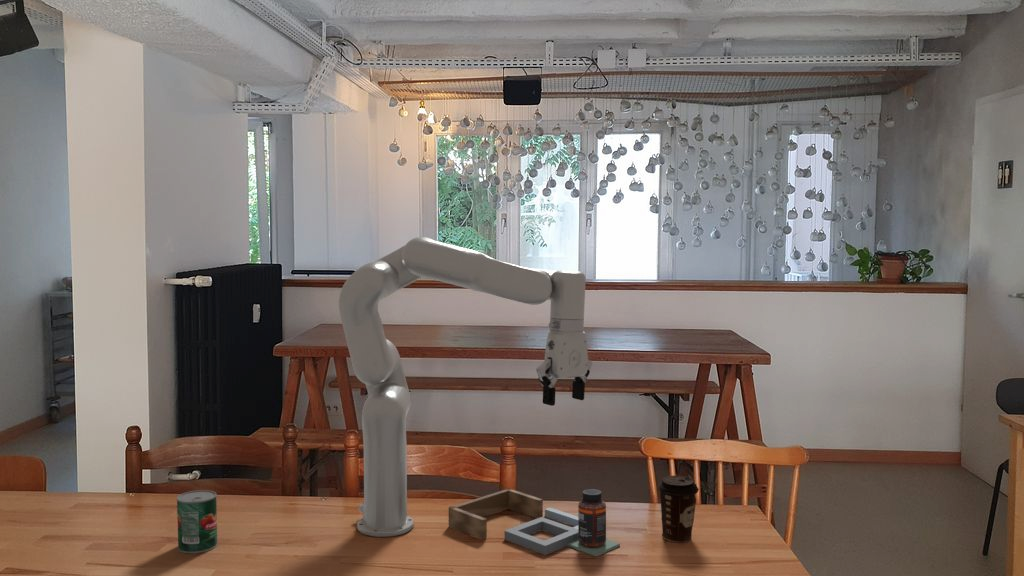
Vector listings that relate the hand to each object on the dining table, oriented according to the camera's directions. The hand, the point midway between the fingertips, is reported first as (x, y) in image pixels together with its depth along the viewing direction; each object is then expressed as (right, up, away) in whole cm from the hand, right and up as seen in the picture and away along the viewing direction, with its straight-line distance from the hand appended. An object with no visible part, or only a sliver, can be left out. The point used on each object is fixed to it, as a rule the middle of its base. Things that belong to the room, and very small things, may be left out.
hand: (563, 401), depth 186 cm
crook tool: (0, -29, +4) cm, 29 cm away
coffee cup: (+25, -30, -3) cm, 39 cm away
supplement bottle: (+6, -29, -8) cm, 31 cm away
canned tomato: (-78, -30, -10) cm, 84 cm away
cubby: (-15, -29, +5) cm, 33 cm away
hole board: (-5, -30, -5) cm, 30 cm away
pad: (+6, -30, -8) cm, 31 cm away
